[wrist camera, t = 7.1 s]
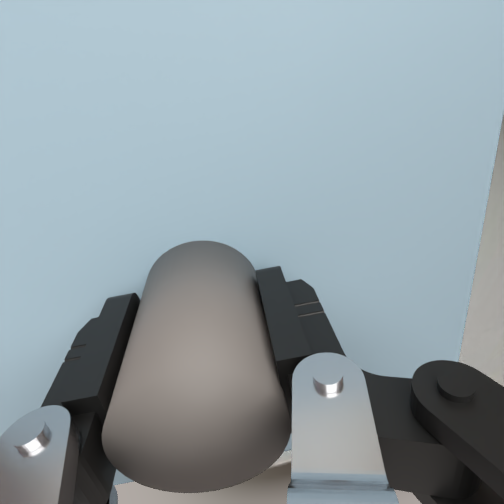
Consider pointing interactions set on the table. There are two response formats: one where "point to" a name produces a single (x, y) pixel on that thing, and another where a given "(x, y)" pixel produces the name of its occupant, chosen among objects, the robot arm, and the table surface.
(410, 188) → the sheet
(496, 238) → the table surface
